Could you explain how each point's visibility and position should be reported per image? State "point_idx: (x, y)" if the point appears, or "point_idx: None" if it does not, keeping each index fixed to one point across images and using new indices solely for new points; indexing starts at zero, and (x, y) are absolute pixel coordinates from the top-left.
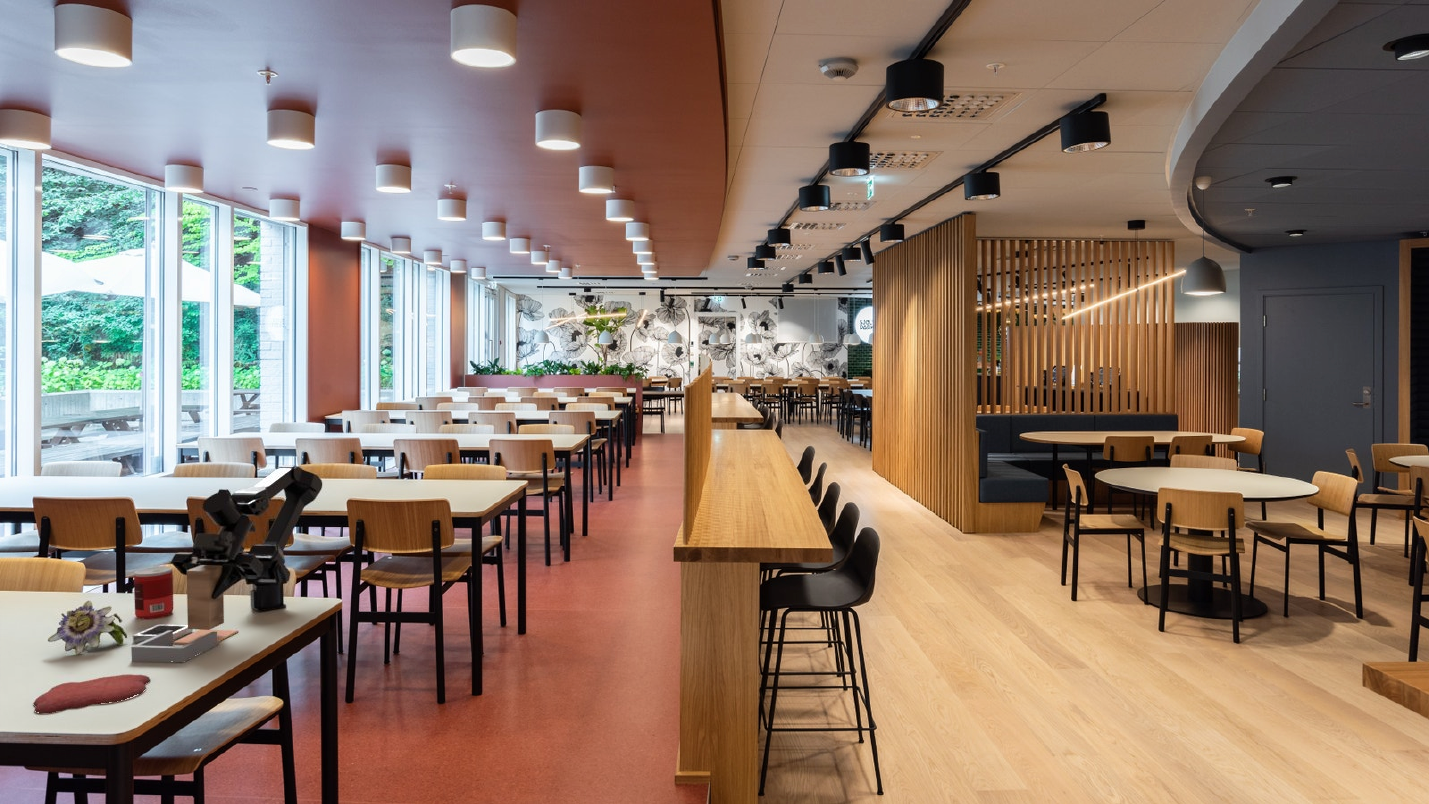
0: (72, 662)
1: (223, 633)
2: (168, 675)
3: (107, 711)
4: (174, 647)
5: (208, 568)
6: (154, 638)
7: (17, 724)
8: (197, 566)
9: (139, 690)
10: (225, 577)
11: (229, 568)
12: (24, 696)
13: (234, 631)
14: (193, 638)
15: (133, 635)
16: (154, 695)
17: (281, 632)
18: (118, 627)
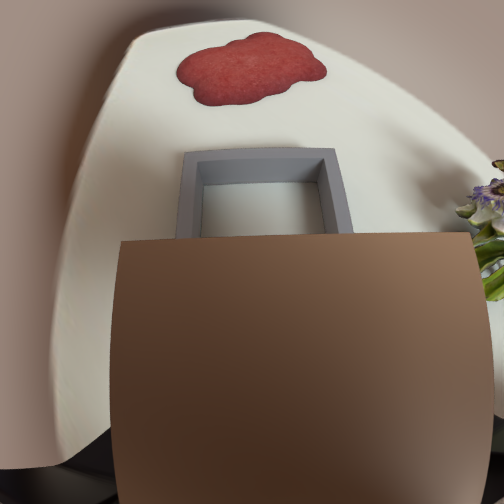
0: (433, 167)
1: None
2: (180, 122)
3: (188, 45)
4: (212, 154)
5: (246, 440)
6: (336, 212)
7: (264, 24)
8: (499, 496)
9: (179, 68)
10: (94, 442)
11: (14, 470)
12: (342, 61)
13: None
14: None
15: None
16: (155, 75)
17: (76, 434)
18: (492, 274)
